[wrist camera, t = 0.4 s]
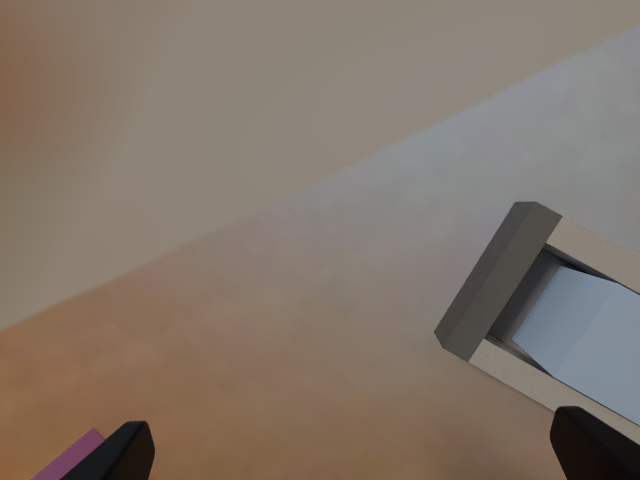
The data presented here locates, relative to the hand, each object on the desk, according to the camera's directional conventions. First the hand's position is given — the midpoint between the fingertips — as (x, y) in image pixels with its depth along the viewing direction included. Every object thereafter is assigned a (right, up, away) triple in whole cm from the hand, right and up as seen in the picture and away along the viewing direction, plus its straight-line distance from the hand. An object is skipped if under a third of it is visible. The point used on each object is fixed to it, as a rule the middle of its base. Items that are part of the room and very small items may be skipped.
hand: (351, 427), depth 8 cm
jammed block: (+15, -1, +13) cm, 20 cm away
